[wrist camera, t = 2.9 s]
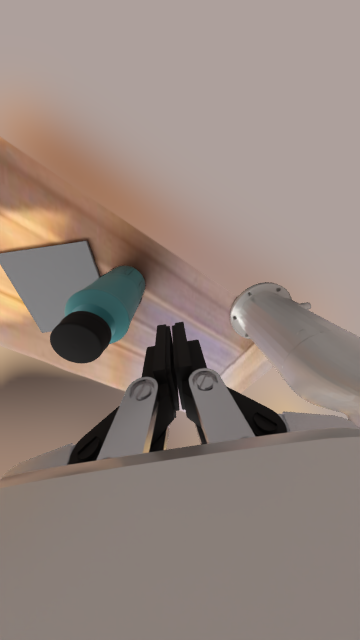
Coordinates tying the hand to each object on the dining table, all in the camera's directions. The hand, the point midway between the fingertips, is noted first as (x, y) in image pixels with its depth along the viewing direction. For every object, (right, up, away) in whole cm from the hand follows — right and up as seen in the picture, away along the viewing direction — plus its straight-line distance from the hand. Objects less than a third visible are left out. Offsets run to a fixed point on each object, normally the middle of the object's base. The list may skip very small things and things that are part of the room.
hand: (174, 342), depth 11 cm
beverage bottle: (-9, +9, +20) cm, 23 cm away
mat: (-21, +7, +20) cm, 30 cm away
